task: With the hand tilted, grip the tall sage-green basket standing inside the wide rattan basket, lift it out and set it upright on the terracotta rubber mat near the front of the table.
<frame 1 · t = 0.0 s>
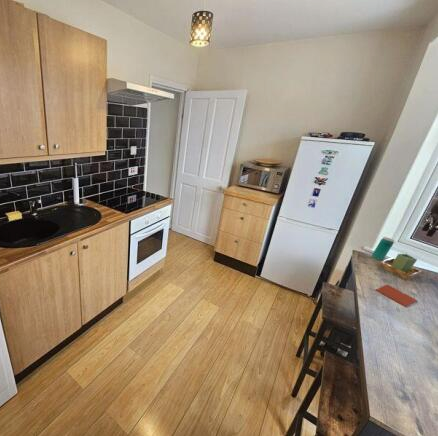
hand: (426, 233, 123), 28 cm above the table, tool pointing down, fingers open, 8 cm apart
mat: (395, 295, 118), on the table
rattan basket: (397, 271, 139), on the table
beverage can: (376, 259, 150), on the table
green basket: (398, 270, 138), point 1 cm above the table, touching rattan basket
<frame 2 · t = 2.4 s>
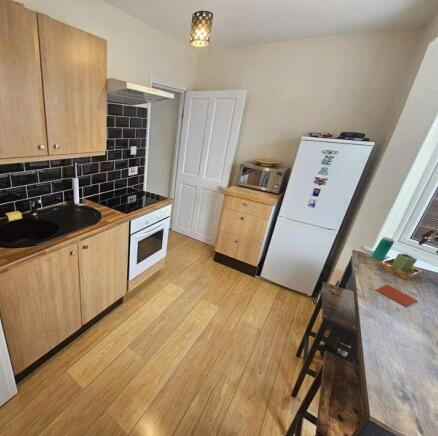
hand: (427, 248, 132), 17 cm above the table, tool tilted 45°, fingers open, 8 cm apart
nothing on the table moved.
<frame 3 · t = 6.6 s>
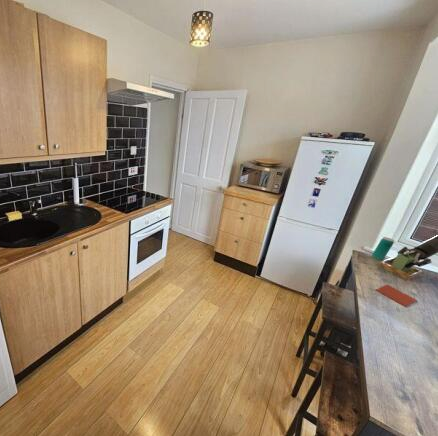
hand: (400, 263, 136), 5 cm above the table, tool tilted 45°, fingers closed on green basket, 5 cm apart
green basket: (398, 270, 138), point 1 cm above the table, touching gripper, rattan basket
everything else where it was.
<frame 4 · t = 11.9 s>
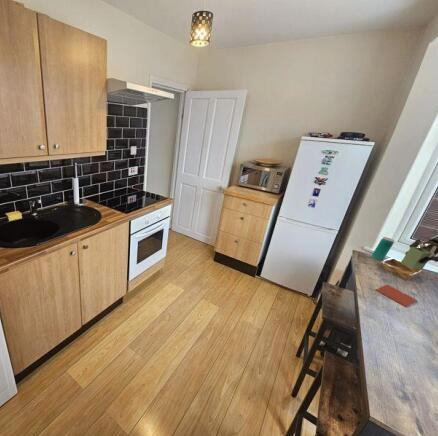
hand: (412, 258, 117), 18 cm above the table, tool tilted 45°, fingers closed on green basket, 5 cm apart
green basket: (410, 266, 119), point 13 cm above the table, touching gripper
everything else where it was.
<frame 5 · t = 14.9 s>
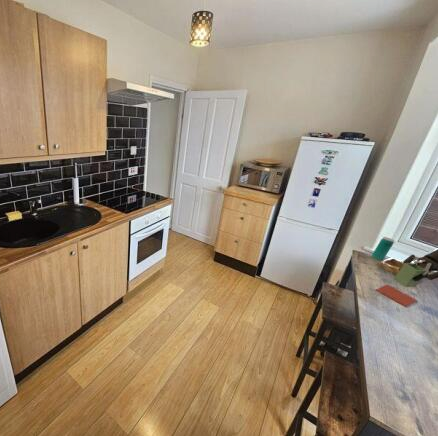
hand: (406, 275, 112), 13 cm above the table, tool tilted 45°, fingers closed on green basket, 5 cm apart
green basket: (404, 283, 114), point 8 cm above the table, touching gripper
everything else where it was.
when the fingers open (5 cm above the table, at t = 17.5 s): green basket stays where it is, resting on mat.
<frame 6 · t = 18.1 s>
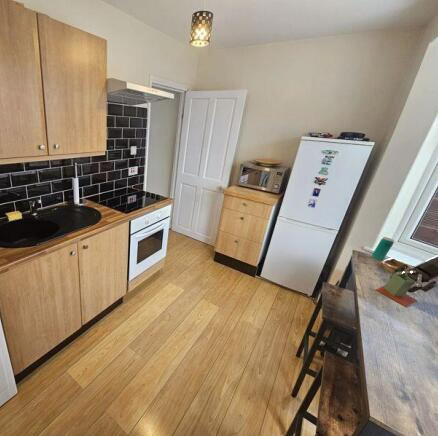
hand: (399, 285, 115), 6 cm above the table, tool tilted 45°, fingers open, 8 cm apart
green basket: (393, 292, 119), point 1 cm above the table, touching gripper, mat
everything else where it was.
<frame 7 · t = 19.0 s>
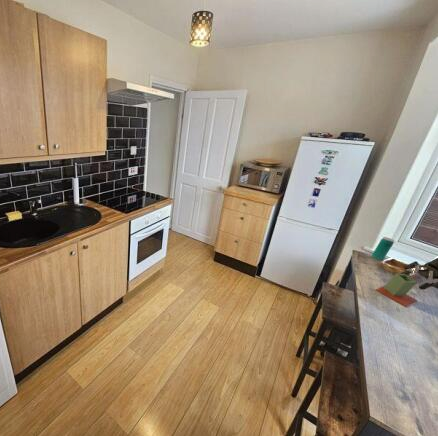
hand: (410, 282, 114), 9 cm above the table, tool tilted 45°, fingers open, 8 cm apart
nothing on the table moved.
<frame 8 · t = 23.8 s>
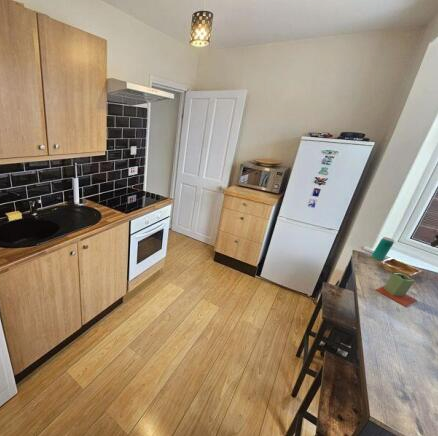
green basket: (393, 292, 119), resting on mat
everything else where it was.
at the end: green basket inside the target area on the mat (1.7 cm from its centre), point 0.5 cm above the mat's base; green basket tilted 0°; green basket touching mat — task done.
